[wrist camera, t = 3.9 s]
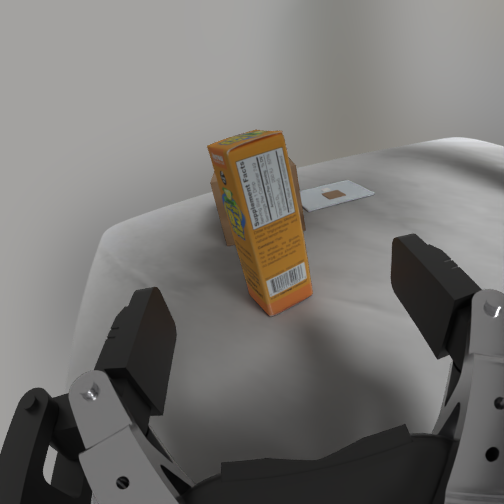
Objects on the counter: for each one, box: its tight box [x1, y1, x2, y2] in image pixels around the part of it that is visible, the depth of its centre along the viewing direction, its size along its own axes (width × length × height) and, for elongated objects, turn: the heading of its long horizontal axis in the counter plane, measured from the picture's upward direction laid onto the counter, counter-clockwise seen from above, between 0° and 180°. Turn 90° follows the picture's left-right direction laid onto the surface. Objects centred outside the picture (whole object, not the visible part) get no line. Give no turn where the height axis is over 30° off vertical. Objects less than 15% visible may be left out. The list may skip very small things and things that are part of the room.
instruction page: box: [300, 180, 375, 212], centre depth 33 cm, size 8×6×1 cm
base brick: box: [211, 157, 306, 246], centre depth 28 cm, size 7×7×6 cm
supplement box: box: [207, 130, 313, 317], centre depth 17 cm, size 3×3×10 cm
